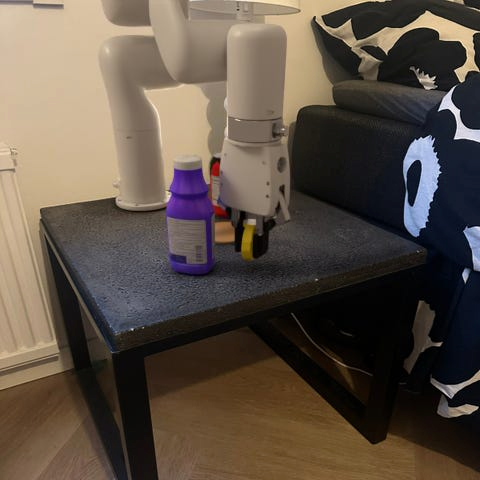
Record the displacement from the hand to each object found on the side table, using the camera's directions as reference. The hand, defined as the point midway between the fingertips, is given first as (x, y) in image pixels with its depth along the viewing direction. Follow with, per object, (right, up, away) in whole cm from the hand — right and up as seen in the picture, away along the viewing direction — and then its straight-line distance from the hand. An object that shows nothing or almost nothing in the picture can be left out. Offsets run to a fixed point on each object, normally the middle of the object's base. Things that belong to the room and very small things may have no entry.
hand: (251, 251), depth 75 cm
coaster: (-5, +6, +14) cm, 16 cm away
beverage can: (-5, +11, +24) cm, 26 cm away
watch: (0, -1, +1) cm, 1 cm away
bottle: (-9, -3, +2) cm, 10 cm away
